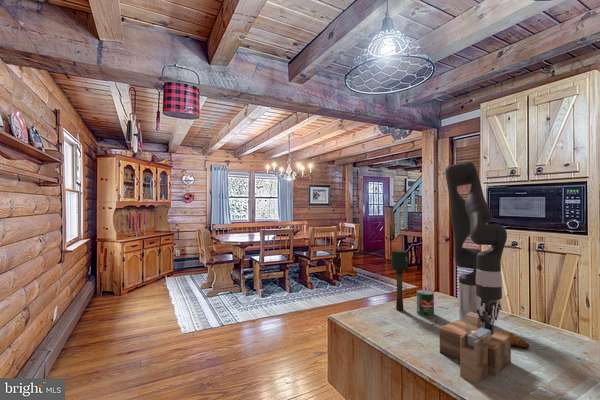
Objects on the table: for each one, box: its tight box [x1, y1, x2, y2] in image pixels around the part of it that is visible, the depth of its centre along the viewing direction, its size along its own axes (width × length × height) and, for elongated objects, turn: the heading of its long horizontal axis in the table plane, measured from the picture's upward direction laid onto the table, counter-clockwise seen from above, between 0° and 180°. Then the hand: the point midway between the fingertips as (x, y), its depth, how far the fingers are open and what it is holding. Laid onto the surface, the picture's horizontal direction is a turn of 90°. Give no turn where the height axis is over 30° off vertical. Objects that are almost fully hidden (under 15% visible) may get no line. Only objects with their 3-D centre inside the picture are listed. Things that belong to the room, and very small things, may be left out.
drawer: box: [467, 326, 491, 347], centre depth 98 cm, size 10×3×4 cm, turn 126°
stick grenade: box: [390, 249, 409, 312], centre depth 153 cm, size 8×9×30 cm
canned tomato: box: [416, 288, 435, 318], centre depth 147 cm, size 8×8×11 cm
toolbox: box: [439, 330, 512, 384], centre depth 103 cm, size 22×18×12 cm
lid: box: [439, 312, 510, 350], centre depth 106 cm, size 13×18×7 cm
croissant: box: [498, 330, 530, 349], centre depth 116 cm, size 14×7×5 cm, turn 47°
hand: (489, 334), depth 102 cm, fingers closed
